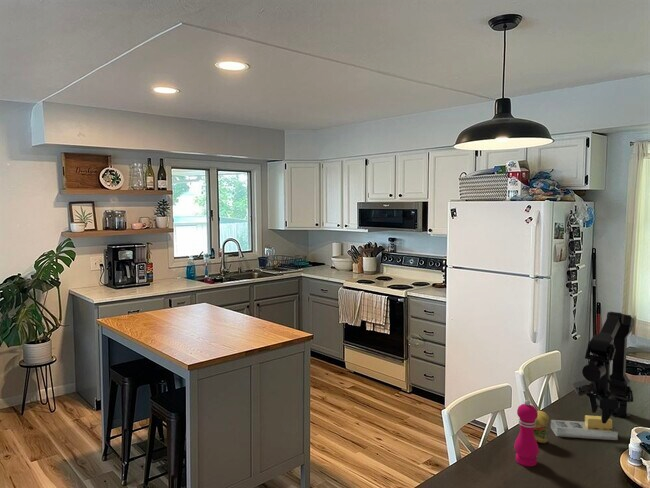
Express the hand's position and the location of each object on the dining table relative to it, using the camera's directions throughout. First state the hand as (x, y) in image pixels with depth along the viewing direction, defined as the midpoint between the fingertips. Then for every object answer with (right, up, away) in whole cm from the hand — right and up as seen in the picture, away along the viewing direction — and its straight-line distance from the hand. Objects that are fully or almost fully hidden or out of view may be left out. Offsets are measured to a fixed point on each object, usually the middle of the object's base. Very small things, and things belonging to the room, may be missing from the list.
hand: (598, 417), depth 175 cm
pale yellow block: (0, -6, +1) cm, 6 cm away
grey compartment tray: (-5, -6, +1) cm, 8 cm away
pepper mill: (-33, -8, -18) cm, 39 cm away
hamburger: (-24, -7, -5) cm, 25 cm away
